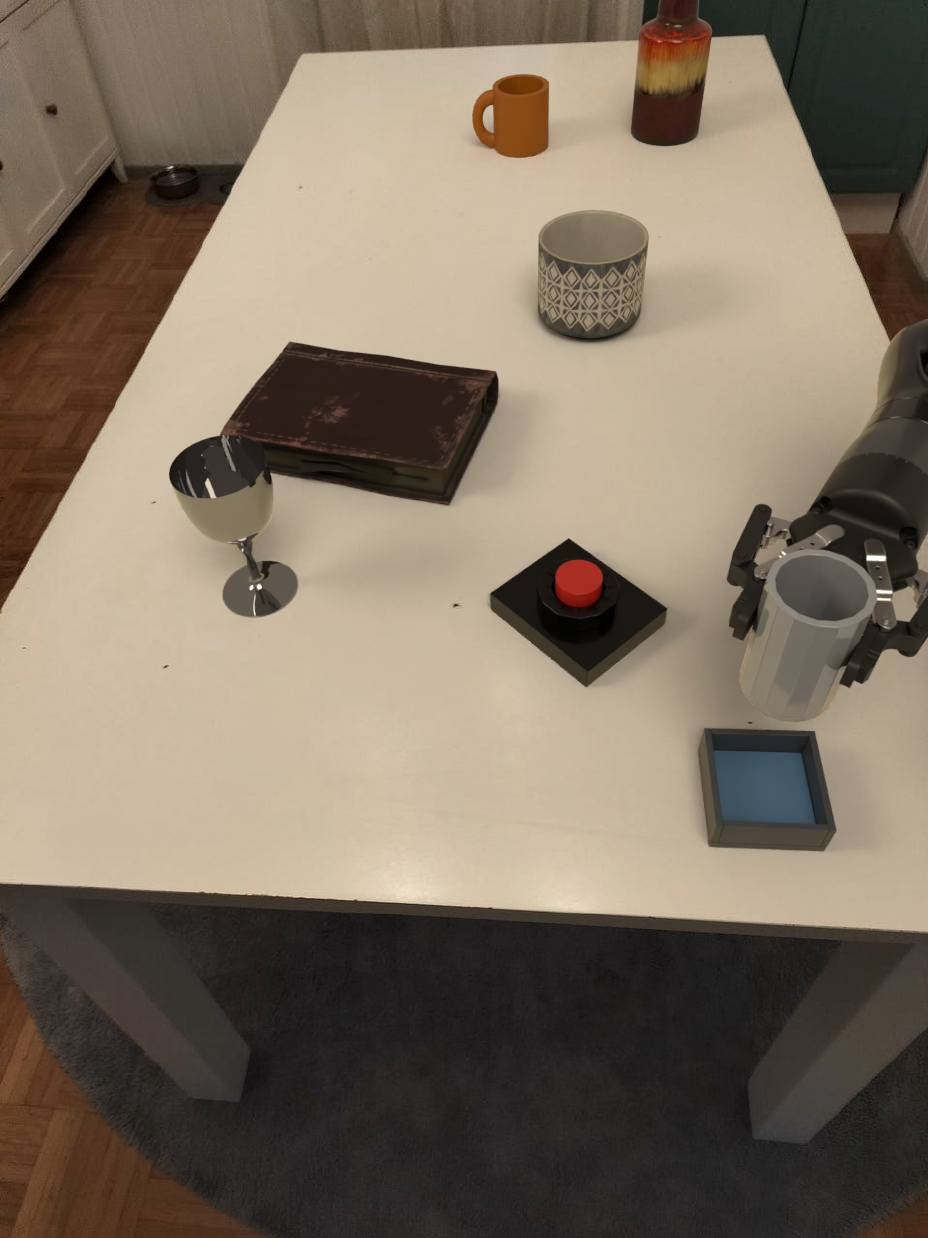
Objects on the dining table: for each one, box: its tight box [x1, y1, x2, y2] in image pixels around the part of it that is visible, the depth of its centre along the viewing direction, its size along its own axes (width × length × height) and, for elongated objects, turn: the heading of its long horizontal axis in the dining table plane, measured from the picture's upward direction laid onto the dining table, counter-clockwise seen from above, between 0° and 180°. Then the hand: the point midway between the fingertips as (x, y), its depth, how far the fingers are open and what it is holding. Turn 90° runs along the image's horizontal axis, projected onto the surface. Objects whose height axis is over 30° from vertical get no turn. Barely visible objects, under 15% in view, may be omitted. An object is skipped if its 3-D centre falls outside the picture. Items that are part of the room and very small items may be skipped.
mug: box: [471, 73, 550, 158], centre depth 140 cm, size 9×12×9 cm
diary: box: [219, 341, 500, 505], centre depth 95 cm, size 19×25×5 cm
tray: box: [697, 727, 837, 852], centre depth 65 cm, size 8×8×3 cm
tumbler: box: [739, 549, 878, 723], centre depth 56 cm, size 6×6×10 cm
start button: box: [555, 560, 603, 607], centre depth 76 cm, size 4×4×2 cm
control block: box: [489, 538, 668, 688], centre depth 78 cm, size 12×10×4 cm
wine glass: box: [168, 435, 299, 618], centre depth 78 cm, size 8×8×15 cm
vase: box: [630, 0, 713, 147], centre depth 136 cm, size 11×11×20 cm
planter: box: [537, 209, 650, 339], centre depth 106 cm, size 13×13×10 cm
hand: (792, 653), depth 54 cm, fingers closed on tumbler, 6 cm apart
